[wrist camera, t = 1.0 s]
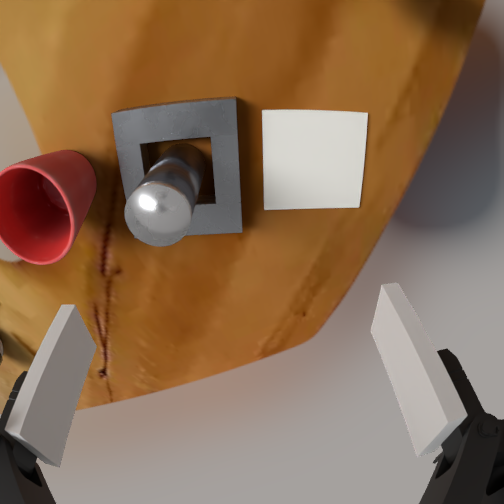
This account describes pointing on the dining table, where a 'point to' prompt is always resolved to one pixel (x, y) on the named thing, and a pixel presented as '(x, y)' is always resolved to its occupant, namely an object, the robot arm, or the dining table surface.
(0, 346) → the dark grey tapered piece
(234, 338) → the dining table surface
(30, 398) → the robot arm
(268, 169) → the pad
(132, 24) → the dining table surface
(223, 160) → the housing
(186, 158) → the metal cylinder
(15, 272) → the dining table surface
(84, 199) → the flower pot
